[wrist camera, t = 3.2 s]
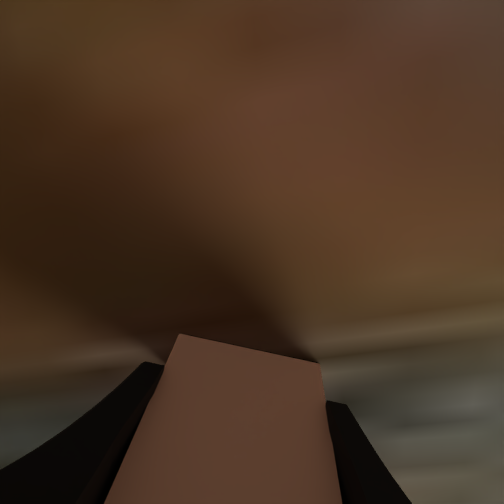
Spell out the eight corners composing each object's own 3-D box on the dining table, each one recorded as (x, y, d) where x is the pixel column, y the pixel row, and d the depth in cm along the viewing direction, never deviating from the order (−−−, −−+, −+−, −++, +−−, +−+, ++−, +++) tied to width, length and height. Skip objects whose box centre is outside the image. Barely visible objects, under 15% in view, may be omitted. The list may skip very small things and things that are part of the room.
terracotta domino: (307, 399, 14) (341, 732, 7) (173, 370, 14) (51, 673, 6) (319, 363, 13) (370, 683, 6) (179, 333, 13) (53, 617, 6)
